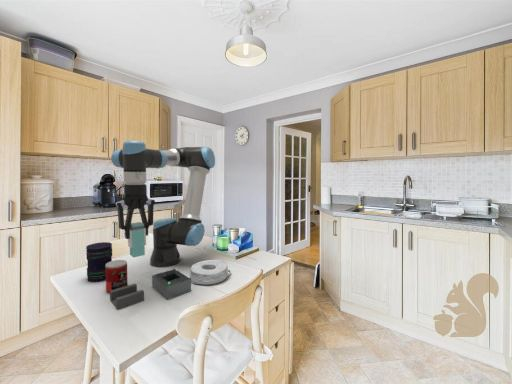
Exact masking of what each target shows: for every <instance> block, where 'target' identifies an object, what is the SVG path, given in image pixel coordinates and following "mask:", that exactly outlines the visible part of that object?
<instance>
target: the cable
mask: <svg viewBox="0 0 512 384" xmlns="http://www.w3.org/2000/svg"><path fill="white" fill-rule="evenodd" d="M228 268H229V267H228V263H227V262H226V261H224V260H222V259H207V260H202V261H199V262H196V263H194V264H192V265H191V267H190V274H189V278H190V279H191V283H193V284H196V285H214V284H218V283H221V282H223V281H224V280H226V278H228V277H230V276H231V275H232V271H231V269H228ZM228 272H229V273H228Z"/></svg>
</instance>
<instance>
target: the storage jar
mask: <svg viewBox="0 0 512 384" xmlns="http://www.w3.org/2000/svg"><path fill="white" fill-rule="evenodd" d="M85 248H86V249H85V251H86V253H85V256H86V262H87V263H86V265H87V268H86V275H87V278H86V279H87V282H88V283H102V282H106V273H105V266H106V263H108V262H110V261H113V259H112V258H113V244H112V243H111V242H108V241H106V242H103V241H102V242H95V243H91V244H88V245H86V247H85Z"/></svg>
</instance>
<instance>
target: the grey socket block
mask: <svg viewBox="0 0 512 384" xmlns="http://www.w3.org/2000/svg"><path fill="white" fill-rule="evenodd" d="M151 283H152V284H151V287H152V288H153V290H155V291H156V292H157V293H159V294H160V295H161V296H162V297H164V298H165V299H166V300H171V299H174V298H176V297H178V296H182V295H184V294H186V293H188V292H192V281H191V279H190V276H189V277H188V276H187V275H185V274H184V273H182V272H180V271H179V270H177V269H175V268H174V269H170V270H166V271H164V272H159V273H157V274H152V276H151Z"/></svg>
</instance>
